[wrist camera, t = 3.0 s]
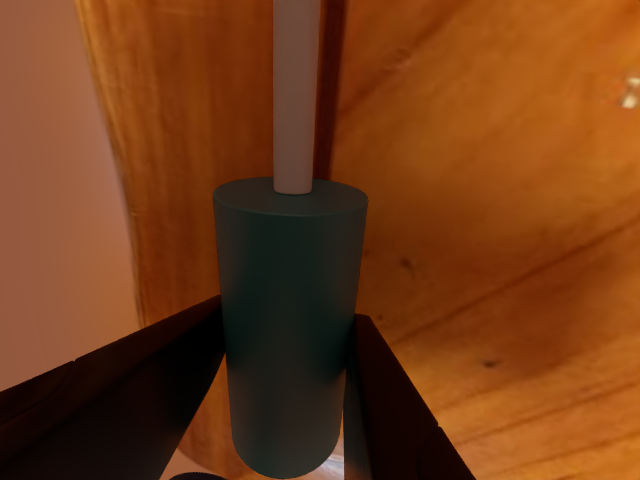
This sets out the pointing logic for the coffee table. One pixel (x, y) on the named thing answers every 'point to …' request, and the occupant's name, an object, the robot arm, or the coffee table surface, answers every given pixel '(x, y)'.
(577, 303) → the coffee table surface
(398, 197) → the coffee table surface
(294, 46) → the screwdriver
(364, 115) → the coffee table surface
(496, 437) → the coffee table surface
